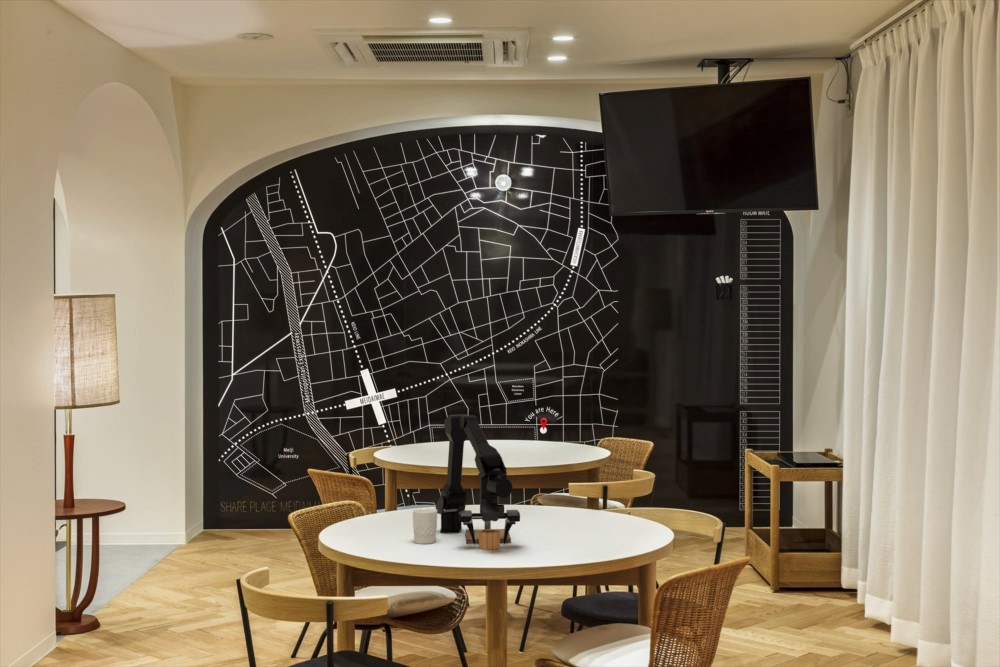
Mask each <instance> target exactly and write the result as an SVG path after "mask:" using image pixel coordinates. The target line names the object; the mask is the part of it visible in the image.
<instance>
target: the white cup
mask: <svg viewBox="0 0 1000 667" xmlns="http://www.w3.org/2000/svg"><path fill="white" fill-rule="evenodd" d="M412 528H413V541H414V543H415V544H419V545H432V544H434V543H436V541H437V528H438V513H437V510H436V508H416V509H412Z"/></svg>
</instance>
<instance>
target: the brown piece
mask: <svg viewBox="0 0 1000 667" xmlns="http://www.w3.org/2000/svg"><path fill="white" fill-rule="evenodd" d="M483 523H484V524H483V525H484V527H483V529H482V528H481V529H480V528H479V529H476V528H475V529H474V536H475V545H476V544H478V545H479V531H480V530H484V529H492V528H491V526H492V521H487V522H485V521H483ZM494 529H495V530H499V531H500V544H504V540H503V538H504V528H494ZM465 544H466V545H471V544H472V545H474V543H473V540H472V537H471V534H470V531H469V529H465ZM505 544H512V538H511V535H510V532H509V533H508V536H507V539H506V543H505Z"/></svg>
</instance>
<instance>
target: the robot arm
mask: <svg viewBox="0 0 1000 667" xmlns="http://www.w3.org/2000/svg"><path fill="white" fill-rule="evenodd" d="M443 424H444V432H445V434H446V437H447V439H448V440H449V443H448V455H447V456H448V459H447V469H446V470H447V473H446V481H445V483H444V485H443V487H442V488H441V491H440V496H439V498H438V500H437V502H436V505H435V509H436V510H437V515H440V533H441V534H448V533H449V534H452V533H454V534H455V533H456V534H457V533H459V534H460V533H461V531H462V528H463V527H462V525H463V526H466V527H467V530H469V531H470V534H471V537H472V540H473V543H474V544H473V545H476V544H475V536H474V522H473V521H474V520H482V521H483V522H484V521H485V522H487V521H491V522H498V521H499V520H503V519H504V528H503V529H504V538H503V540H504V543H503V545H505V544H507V543H506V539H507V536H508V533H509V534H510V530H511V528H512V527H513V525H517V522H518V523H519V522H521V513H520V511H519V510H518V509H506V512H505V504H501V503H500V504H499V498H503V499H504V498H508V497H509V496H510V495H511V494H512V492H513V485H512V484H513V483H512V482H511V480H509V479H508V478H507V477H508V476H507V475H508V473H507V467H506V465H505V463H504V460H503V458H502V456H501V454H500V453H499V451H498V450H497V448H496V447H493V446H492V445H490V443H489V442H488V440H487V437H486V435H485V433H484V432H483V430H482V428H481V426H480V424H479V419H478V417H477V416H475V415H467V414H448V416H447V417H446V418H445V419H444V423H443ZM467 438H468V440H469V442H470V444H471V447H472V449H473V451H474V452H475V453H474V454H475V457H474V462H475V466H476V469H477V470H478V472H479V473H478V474H477V477H478V478H479V512H472V510H470V509H469V510H467V509H466V505H467V497H466V496H467V491H466V490H465V489H464V487H463V485H462V478H463V477H462V476H463V461H464V460H463V459H464V445H465V441H467Z"/></svg>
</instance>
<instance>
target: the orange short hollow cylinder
mask: <svg viewBox="0 0 1000 667" xmlns="http://www.w3.org/2000/svg"><path fill="white" fill-rule="evenodd" d="M483 529H484V530H480V531H479V544H478V548H479V549H480V550H486V551H487V550H490V549H492V550H499V549H500V548H501V543H500V531H499V530H495V529H496V528H491V529H485V528H483Z"/></svg>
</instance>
